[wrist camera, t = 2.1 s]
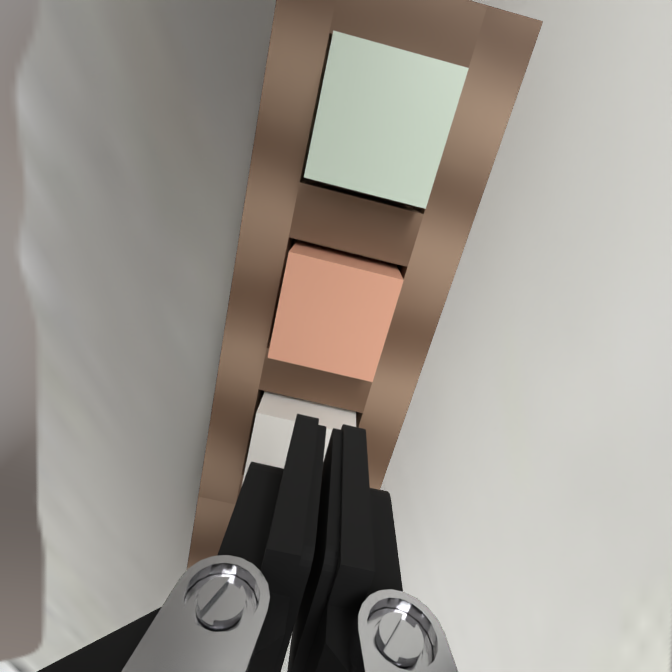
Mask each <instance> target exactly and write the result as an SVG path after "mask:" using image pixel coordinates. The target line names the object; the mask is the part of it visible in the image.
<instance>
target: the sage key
mask: <svg viewBox="0 0 672 672" xmlns="http://www.w3.org/2000/svg"><path fill="white" fill-rule="evenodd" d="M468 69H469V68H467V67H463V66H459V65H456V64H452V63H449V62H445V61H441V60H438V59H434V58H431V57H427V56H423V55H420V54H416V53H413V52H409V51H405V50H402V49H398V48H395V47H391V46H387V45H384V44H380V43H377V42H373V41H369V40H366V39H362V38H359V37H355V36H351V35H348V34H344V33H341V32H337V31H334V30H333V35H332V40H331V45H330V50H329V55H328V60H327V65H326V70H325V75H324V80H323V85H322V90H321V94H320V99H319V104H318V109H317V114H316V119H315V124H314V129H313V134H312V139H311V144H310V149H309V154H308V159H307V164H306V169H305V174H304V178H308V179H312V180H316V181H320V182H324V183H327V184H331V185H335V186H339V187H343V188H347V189H351V190H355V191H358V192H362V193H366V194H370V195H374V196H378V197H382V198H386V199H389V200H393V201H397V202H401V203H405V204H409V205H413V206H417V207H421V208H424V209H426V206H427V203H428V200H429V196H430V193H431V190H432V186H433V183H434V180H435V177H436V173H437V170H438V167H439V164H440V160H441V157H442V154H443V151H444V147H445V144H446V141H447V138H448V134H449V131H450V128H451V124H452V121H453V118H454V115H455V111H456V108H457V105H458V102H459V98H460V95H461V92H462V89H463V85H464V82H465V79H466V75H467V72H468Z"/></svg>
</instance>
